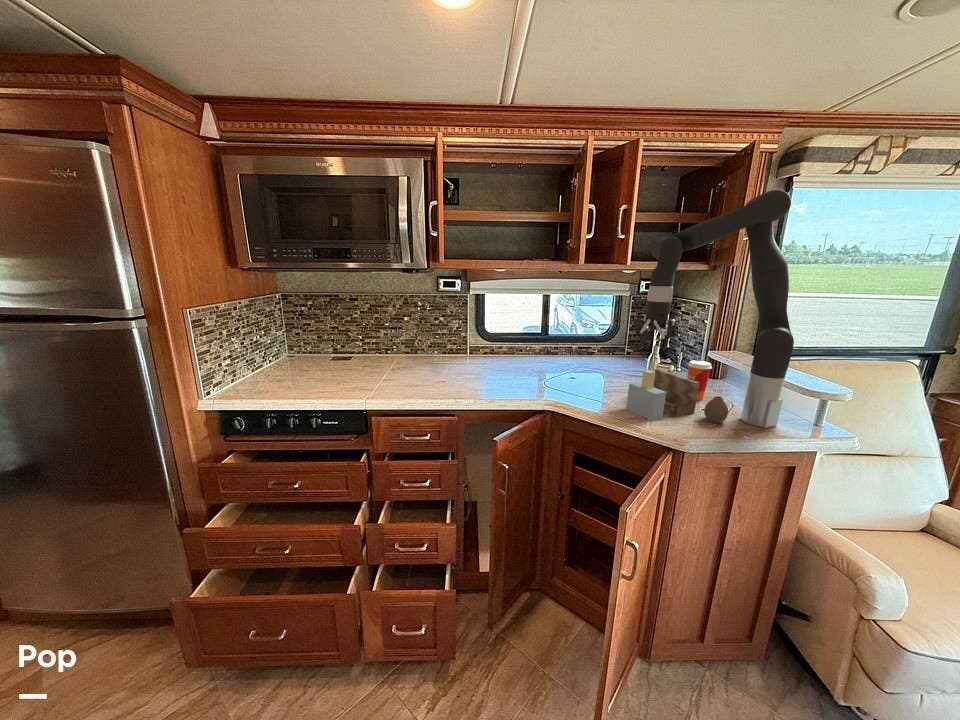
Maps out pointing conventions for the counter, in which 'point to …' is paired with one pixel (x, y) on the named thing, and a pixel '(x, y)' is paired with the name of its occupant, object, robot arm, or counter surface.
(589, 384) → the counter surface
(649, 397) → the grey block with handle
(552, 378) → the counter surface
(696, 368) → the coffee cup
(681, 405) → the brown wooden box
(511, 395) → the counter surface
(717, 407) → the brown rounded pot shape
